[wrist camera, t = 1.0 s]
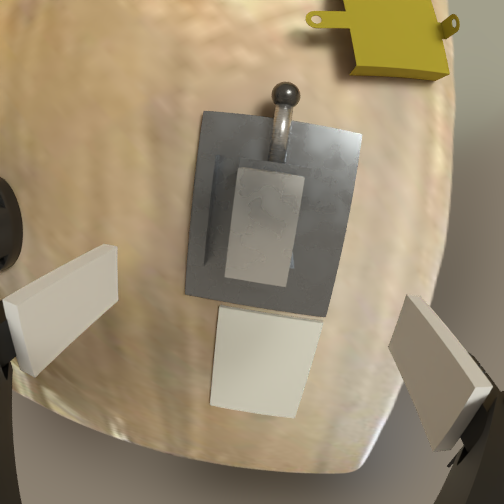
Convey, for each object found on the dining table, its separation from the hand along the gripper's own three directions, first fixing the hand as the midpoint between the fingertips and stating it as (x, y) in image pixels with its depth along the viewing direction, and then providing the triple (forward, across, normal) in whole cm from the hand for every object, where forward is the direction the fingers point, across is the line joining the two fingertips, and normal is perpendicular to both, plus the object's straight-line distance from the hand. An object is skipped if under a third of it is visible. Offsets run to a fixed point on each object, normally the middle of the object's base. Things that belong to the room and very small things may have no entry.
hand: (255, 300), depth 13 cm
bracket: (+21, +8, +22) cm, 32 cm away
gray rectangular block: (+19, -1, +2) cm, 19 cm away
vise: (+20, -1, +2) cm, 20 cm away
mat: (+20, +1, -19) cm, 28 cm away
